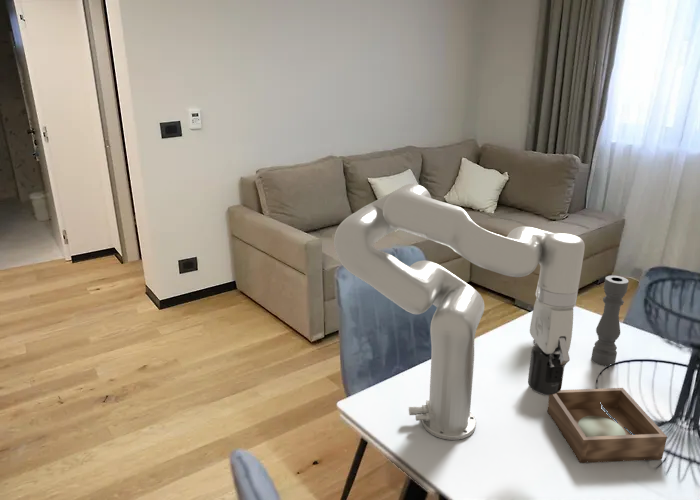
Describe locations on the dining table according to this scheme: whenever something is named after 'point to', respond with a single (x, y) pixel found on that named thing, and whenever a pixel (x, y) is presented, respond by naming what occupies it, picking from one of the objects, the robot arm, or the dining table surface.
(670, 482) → the dining table surface
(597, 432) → the walnut box
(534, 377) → the supplement bottle
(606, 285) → the candle holder
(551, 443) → the dining table surface
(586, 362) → the dining table surface
